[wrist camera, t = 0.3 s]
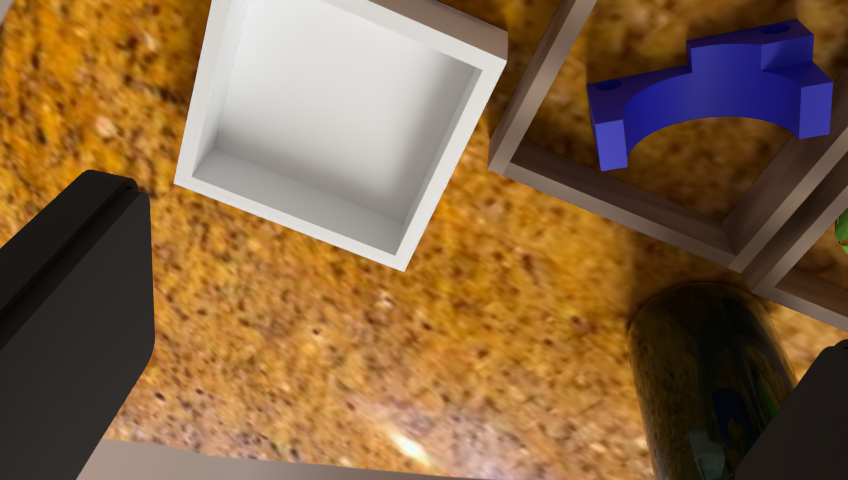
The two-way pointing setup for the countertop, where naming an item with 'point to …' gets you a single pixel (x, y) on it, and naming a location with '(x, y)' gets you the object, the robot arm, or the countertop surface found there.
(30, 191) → the countertop surface
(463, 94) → the bin
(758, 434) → the dark green wine bottle
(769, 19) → the countertop surface
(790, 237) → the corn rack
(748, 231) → the brown hollow square frame
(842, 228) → the corn
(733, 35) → the cable clip
